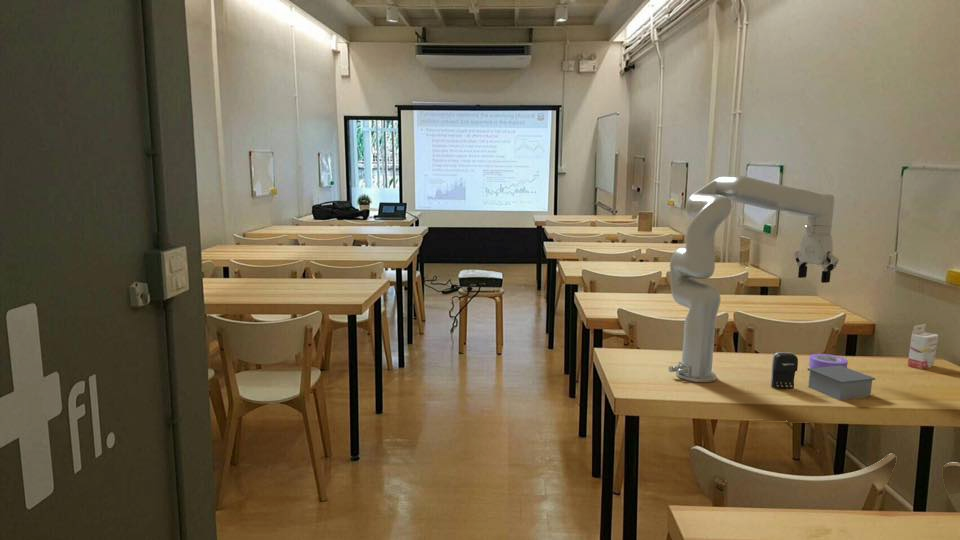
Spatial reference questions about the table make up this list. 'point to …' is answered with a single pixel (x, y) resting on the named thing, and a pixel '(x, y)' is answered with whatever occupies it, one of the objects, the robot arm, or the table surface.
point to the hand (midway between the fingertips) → (813, 279)
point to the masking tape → (826, 361)
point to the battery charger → (783, 370)
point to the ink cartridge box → (922, 348)
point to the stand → (840, 382)
